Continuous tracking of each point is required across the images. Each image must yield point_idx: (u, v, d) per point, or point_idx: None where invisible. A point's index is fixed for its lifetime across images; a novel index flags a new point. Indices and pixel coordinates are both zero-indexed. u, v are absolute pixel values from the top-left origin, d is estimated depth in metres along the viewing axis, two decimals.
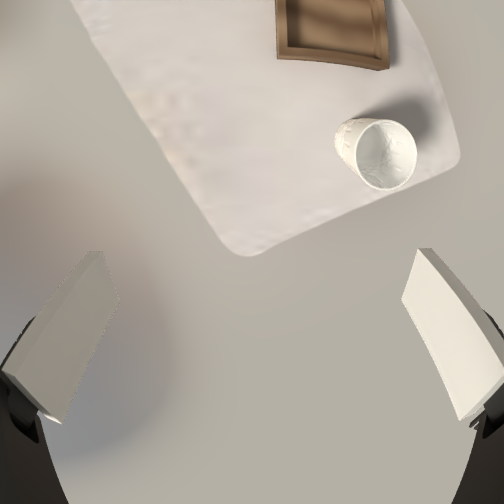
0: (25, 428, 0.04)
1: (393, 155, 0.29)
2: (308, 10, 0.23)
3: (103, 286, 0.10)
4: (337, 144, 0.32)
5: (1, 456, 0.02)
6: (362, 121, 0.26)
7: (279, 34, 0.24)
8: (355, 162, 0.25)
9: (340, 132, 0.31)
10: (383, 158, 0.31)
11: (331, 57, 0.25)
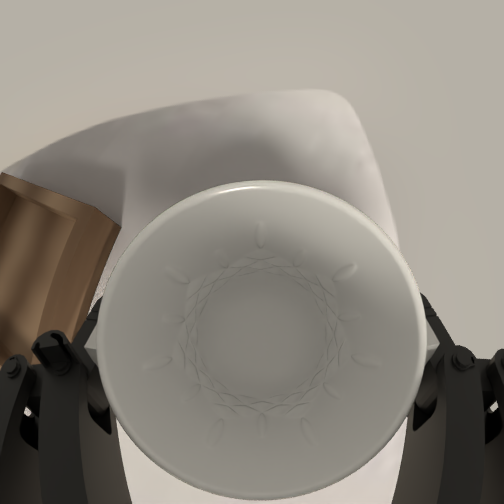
0: (96, 415, 0.06)
1: (303, 263, 0.11)
2: (9, 309, 0.14)
3: None
4: None
5: (72, 453, 0.03)
6: None
7: None
8: (251, 497, 0.04)
9: None
10: (311, 289, 0.12)
11: (48, 330, 0.12)
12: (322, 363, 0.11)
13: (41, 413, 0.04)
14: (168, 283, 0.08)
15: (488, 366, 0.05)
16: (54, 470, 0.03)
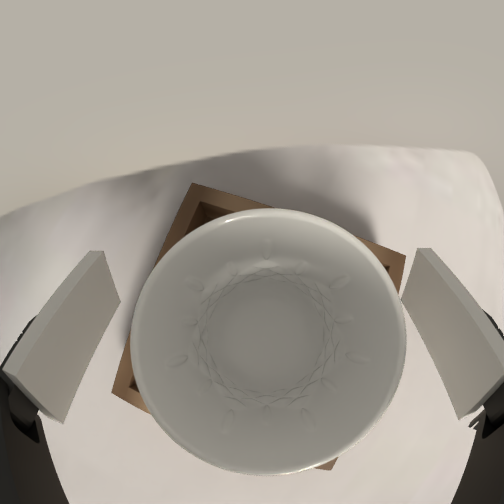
0: (25, 428, 0.04)
1: (304, 272, 0.12)
2: None
3: (104, 286, 0.10)
4: None
5: (1, 456, 0.02)
6: None
7: None
8: (261, 473, 0.06)
9: None
10: (311, 295, 0.13)
11: None
12: (320, 361, 0.13)
13: None
14: (187, 291, 0.10)
15: None
16: None
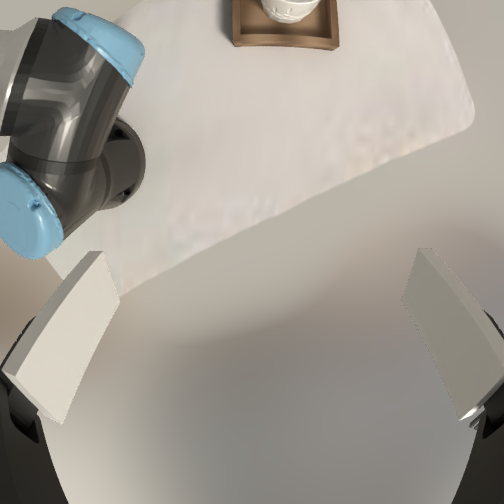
0: (25, 428, 0.04)
1: None
2: None
3: (103, 286, 0.10)
4: (290, 20, 0.25)
5: (1, 456, 0.02)
6: None
7: (319, 43, 0.27)
8: (306, 3, 0.19)
9: (278, 17, 0.25)
10: None
11: (336, 9, 0.23)
12: None
13: None
14: None
15: None
16: None
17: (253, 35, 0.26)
